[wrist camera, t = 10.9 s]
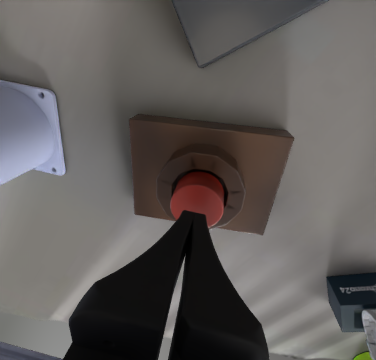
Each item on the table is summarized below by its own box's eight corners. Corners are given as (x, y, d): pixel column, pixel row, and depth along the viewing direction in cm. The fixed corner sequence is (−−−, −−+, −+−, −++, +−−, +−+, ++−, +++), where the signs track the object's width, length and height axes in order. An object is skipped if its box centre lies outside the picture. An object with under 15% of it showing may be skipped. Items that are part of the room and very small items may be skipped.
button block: (141, 203, 22) (125, 228, 18) (138, 113, 17) (116, 124, 14) (259, 221, 20) (266, 253, 17) (287, 130, 16) (304, 147, 13)
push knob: (175, 208, 17) (168, 225, 15) (177, 167, 15) (170, 181, 13) (220, 215, 16) (219, 233, 15) (227, 174, 15) (227, 189, 13)
